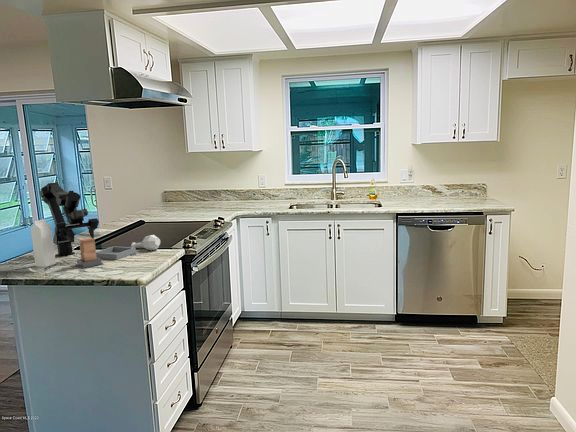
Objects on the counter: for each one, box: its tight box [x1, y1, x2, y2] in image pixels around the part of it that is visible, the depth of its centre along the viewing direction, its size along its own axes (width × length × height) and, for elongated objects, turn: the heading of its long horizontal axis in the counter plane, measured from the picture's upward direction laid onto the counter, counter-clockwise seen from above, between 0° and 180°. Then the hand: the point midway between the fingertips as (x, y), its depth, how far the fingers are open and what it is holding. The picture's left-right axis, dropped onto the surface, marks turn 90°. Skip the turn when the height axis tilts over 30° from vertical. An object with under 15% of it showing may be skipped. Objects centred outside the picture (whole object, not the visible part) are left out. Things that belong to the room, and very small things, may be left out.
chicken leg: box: [130, 234, 161, 251], centre depth 229 cm, size 8×18×8 cm, turn 68°
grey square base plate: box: [74, 257, 105, 270], centre depth 199 cm, size 10×10×3 cm
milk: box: [30, 218, 57, 268], centre depth 200 cm, size 6×6×22 cm
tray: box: [96, 245, 137, 261], centre depth 215 cm, size 14×14×4 cm
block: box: [78, 237, 97, 262], centre depth 198 cm, size 5×5×12 cm
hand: (83, 240), depth 201 cm, fingers open, 9 cm apart
